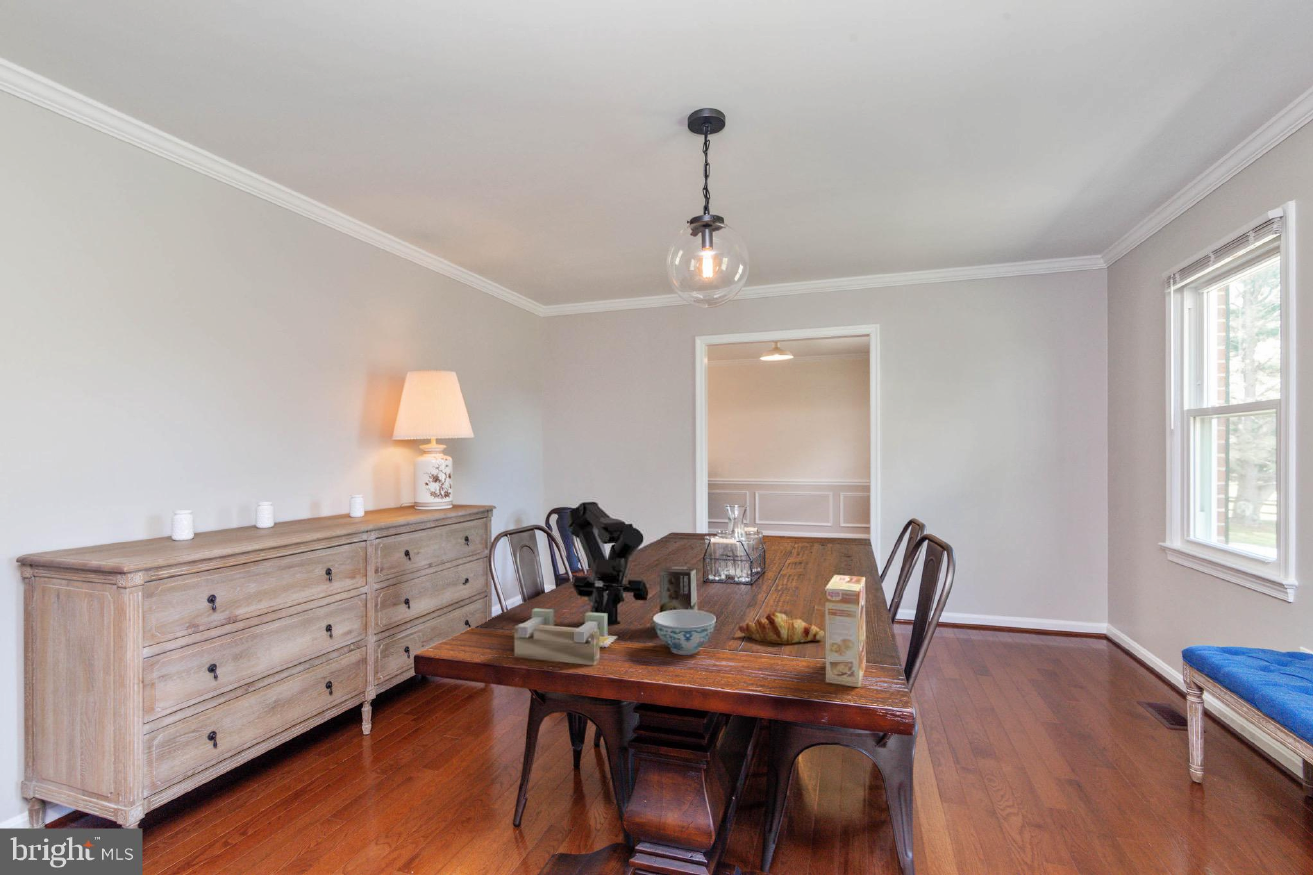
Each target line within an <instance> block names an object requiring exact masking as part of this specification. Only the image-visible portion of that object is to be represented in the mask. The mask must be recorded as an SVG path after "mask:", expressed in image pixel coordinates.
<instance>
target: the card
mask: <svg viewBox="0 0 1313 875" xmlns="http://www.w3.org/2000/svg"><path fill="white" fill-rule="evenodd" d="M616 638H617V639H618V635H609V634H608V635H606V636H605V637H599V648H604V647H606V648H607V647H609V646H610V645H611V644H612V643H613V642H614V641H616V640H617V639H616ZM615 639H616V640H615ZM588 640H590V639H588ZM611 642H612V643H611ZM609 644H610V645H609Z"/></svg>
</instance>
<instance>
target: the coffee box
mask: <svg viewBox="0 0 1313 875" xmlns="http://www.w3.org/2000/svg"><path fill="white" fill-rule="evenodd" d="M658 584H659V586H658V589H659V613H661V612H665V611H671V610H698V568H697V567H691V566H689V567H688V566H686V567H685V566H664V567H663V568H661V569H660V570H659V571H658Z"/></svg>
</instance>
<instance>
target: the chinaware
mask: <svg viewBox="0 0 1313 875" xmlns="http://www.w3.org/2000/svg"><path fill="white" fill-rule="evenodd" d="M716 619H717V618H716V616H715V615H714V614H712V613H710V612H707V611H702V610H698V609H697V610H671V611H665V612H661V613H660V612H659V613H657V614H655V615H654V616H653V618H652V620H653V621H652V622H653V625H654V628H655V632H656V634H657V636H658V637H659V639H660V640H661V642H663V643H664V644H665V645H666V646H667V647H669V648H670V651H671V652H672V653H673V654H675V655H682V656H686V655H688V656H689V655H694V654H696V653H699V650H700V649H699V648H701V647H702V646H703V645H704V644H706V643H707V642H708V641H709V640H710V638H711V636H712V635H713V632H714V629H715V626H716V621H717V620H716Z"/></svg>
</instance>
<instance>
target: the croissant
mask: <svg viewBox="0 0 1313 875" xmlns="http://www.w3.org/2000/svg"><path fill="white" fill-rule="evenodd" d="M738 631H739V632H740V633H741V634H743V635H745V636H747V637H750V638H751V639H753V640H755V641H758V642H765V643H770V644H785V645H786V644H787V645H788V644H796V643H804V642H809V641H813V642H815V641H819V640H822V639H823V638H824V637H825V632H824V631H823V630H821V629H819V628H818V627H817V626H815V625H814V624H812V625H810V624H808V623H807V622H804V621H803V620H802V619H801V618H797V617H796V618H792V617H790V618H789V617H787V616H786V615H785V614H783V613H780V612H769V613H767V614H766V615H765V617H759V618H757V620H756V621H755V622H752V621H751V622H747V623H745V624H743V625H742V624H740V625H738Z"/></svg>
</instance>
